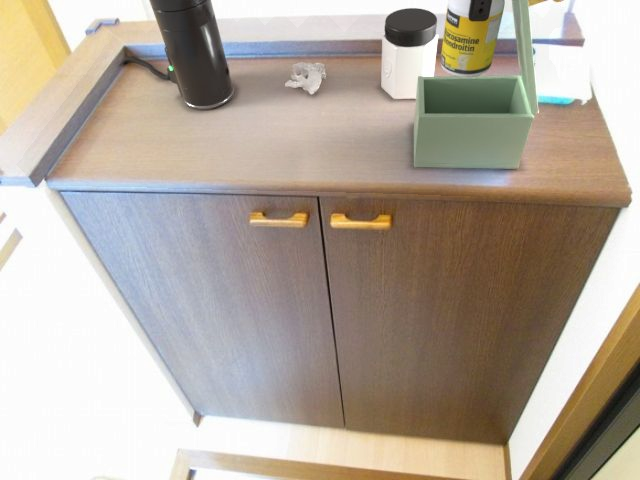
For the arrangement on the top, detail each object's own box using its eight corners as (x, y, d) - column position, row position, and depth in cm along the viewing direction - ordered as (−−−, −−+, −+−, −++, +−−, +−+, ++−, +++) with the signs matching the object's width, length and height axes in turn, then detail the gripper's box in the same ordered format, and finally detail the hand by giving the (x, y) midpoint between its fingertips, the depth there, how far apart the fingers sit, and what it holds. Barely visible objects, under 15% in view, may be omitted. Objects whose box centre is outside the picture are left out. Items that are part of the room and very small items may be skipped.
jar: (373, 82, 84) (374, 15, 75) (412, 69, 86) (417, 2, 76) (399, 106, 78) (403, 37, 69) (440, 92, 80) (449, 23, 71)
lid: (519, -3, 49) (574, -21, 47) (506, -39, 55) (554, -57, 53) (531, 115, 59) (577, 103, 57) (519, 73, 66) (560, 61, 64)
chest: (414, 167, 68) (418, 116, 62) (413, 125, 75) (417, 76, 68) (517, 169, 66) (534, 117, 59) (508, 126, 72) (522, 75, 66)
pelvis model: (291, 54, 85) (326, 51, 84) (296, 75, 89) (330, 73, 87) (282, 77, 80) (319, 74, 79) (287, 98, 83) (323, 96, 82)
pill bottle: (430, 62, 62) (440, -32, 53) (470, 49, 63) (487, -45, 55) (458, 85, 58) (474, -13, 49) (501, 70, 59) (524, -28, 50)
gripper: (567, -170, 37) (516, 34, 50) (536, -199, 46) (500, -20, 59) (470, -162, 38) (445, 36, 51) (459, -192, 47) (440, -18, 60)
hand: (475, 5), depth 55 cm, fingers closed on pill bottle, 6 cm apart
